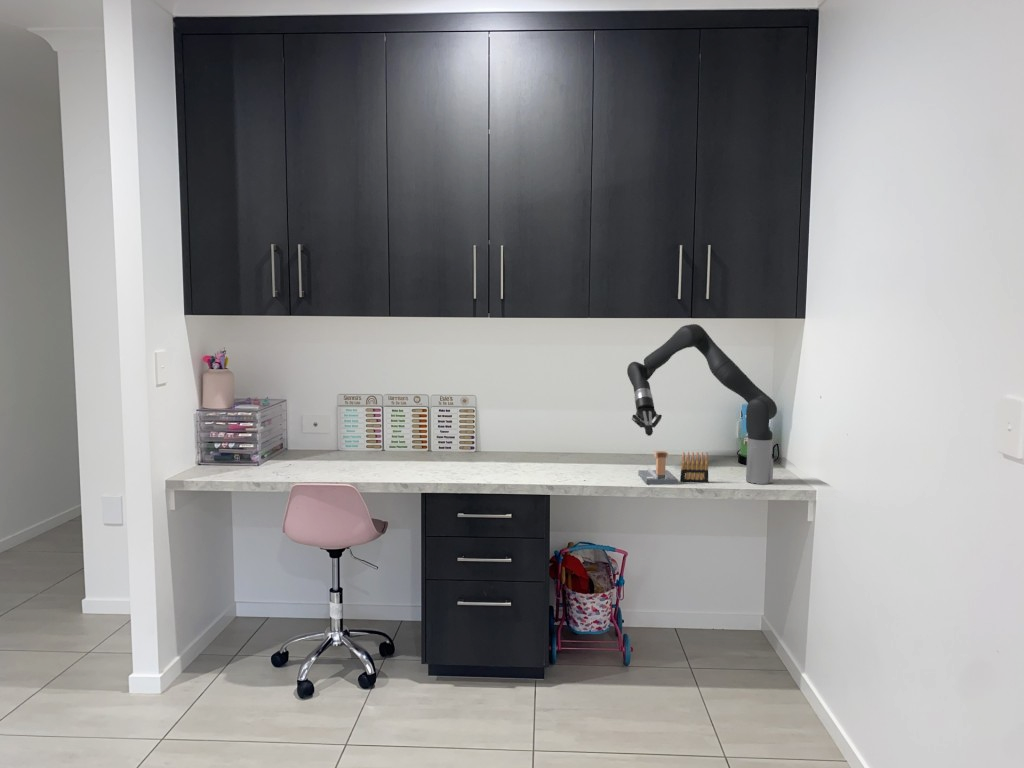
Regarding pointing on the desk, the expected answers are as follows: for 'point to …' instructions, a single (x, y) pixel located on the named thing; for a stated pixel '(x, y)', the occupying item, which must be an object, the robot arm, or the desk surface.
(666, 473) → the fader console
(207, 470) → the desk surface
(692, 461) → the ammunition clip
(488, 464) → the desk surface
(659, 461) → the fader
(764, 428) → the robot arm
